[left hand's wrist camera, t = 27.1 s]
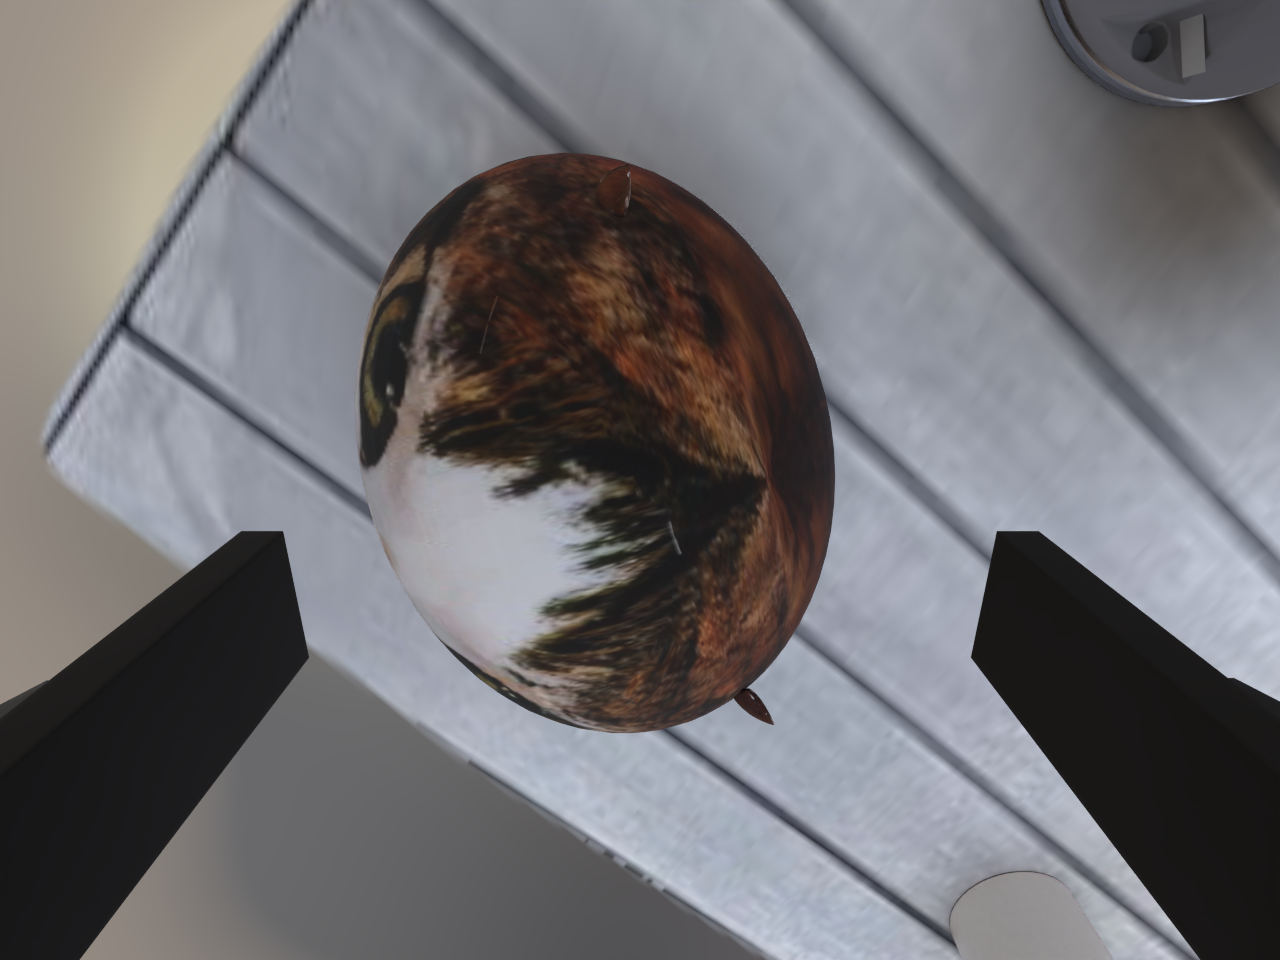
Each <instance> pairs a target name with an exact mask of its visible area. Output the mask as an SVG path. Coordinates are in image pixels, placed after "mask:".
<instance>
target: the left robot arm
mask: <svg viewBox="0 0 1280 960" xmlns="http://www.w3.org/2000/svg"><path fill="white" fill-rule="evenodd" d="M1042 1H1043V5H1044V8H1045V12H1046V14H1047V16H1048V19H1049V21H1050V24H1051V26H1052V29H1053V30H1054V32H1055V34H1056V36H1057V38H1058V40H1059V42H1060V43H1061V45H1062V46H1063V48H1064V49H1065V51H1066V52H1067V53H1068V55H1069V56H1070V58H1071V59H1072V60H1073V61H1074V62H1075V63H1076V64H1077V65H1078V67H1079V68H1080V69H1081V70H1082V71H1083V72H1085V73H1086V74H1087V75H1088V76H1089V77H1090V78H1091V79H1093V80H1094V81H1095V82H1097V83H1098V84H1100V85H1101V86H1103V87H1104V88H1106V89H1107V90H1109V91H1111V92H1113V93H1115V94H1117V95H1119V96H1121V97H1124V98H1127V99H1130V100H1133V101H1136V102H1140V103H1144V104H1149V105H1156V106H1166V107H1185V106H1194V105H1202V104H1207V103H1212V102H1217V101H1222V100H1226V99H1231V98H1235V97H1240V96H1244V95H1248V94H1251V93H1254V92H1257V91H1260V90H1263V89H1265V88H1268V87H1270V86H1272V85H1275V84H1277V83H1279V82H1280V0H1042ZM308 658H309V655H308V650H307V645H306V641H305V636H304V631H303V626H302V621H301V616H300V611H299V607H298V602H297V597H296V592H295V587H294V582H293V577H292V573H291V568H290V563H289V558H288V553H287V548H286V543H285V539H284V534H283V531H241V532H240V533H238V534H237V535H236V536H235V537H233V538H232V539H231V540H229V541H228V542H227V543H226V544H224V545H223V546H222V547H220V548H219V549H218V550H217V551H215V552H214V553H213V554H211V555H210V556H209V557H208V558H206V559H205V560H204V561H202V562H201V563H200V564H199V565H197V566H196V567H195V568H193V569H192V570H191V571H190V572H188V573H187V574H186V575H184V576H183V577H182V578H181V579H179V580H178V581H177V582H175V583H174V584H173V585H172V586H170V587H169V588H168V589H166V590H165V591H164V592H163V593H161V594H160V595H159V596H157V597H156V598H155V599H154V600H152V601H151V602H150V603H148V604H147V605H146V606H145V607H143V608H142V609H141V610H139V611H138V612H137V613H135V614H134V615H133V616H132V617H130V618H129V619H128V620H126V621H125V622H124V623H123V624H121V625H120V626H119V627H117V628H116V629H115V630H114V631H112V632H111V633H110V634H109V635H107V636H106V637H105V638H103V639H102V640H101V641H99V642H98V643H97V644H96V645H94V646H93V647H92V648H91V649H89V650H88V651H87V652H85V653H84V654H83V655H81V656H80V657H79V658H78V659H76V660H75V661H74V662H72V663H71V664H70V665H69V666H67V667H66V668H65V669H63V670H62V671H61V672H60V673H58V674H57V675H56V676H54V677H53V678H52V679H51V680H49V681H45V682H43V683H41V684H39V685H37V686H35V687H33V688H31V689H29V690H28V691H26V692H24V693H22V694H20V695H18V696H16V697H14V698H12V699H10V700H8V701H6V702H4V703H2V704H1V705H0V960H80V958H81V957H82V956H83V954H84V953H85V952H86V951H87V949H88V948H89V947H90V945H91V944H92V943H93V941H94V940H95V939H96V937H97V936H98V935H99V933H100V932H101V931H102V929H103V928H104V927H105V925H106V924H107V923H108V922H109V920H110V919H111V918H112V916H113V915H114V914H115V912H116V911H117V910H118V908H119V907H120V906H121V904H122V903H123V902H124V900H125V899H126V898H127V897H128V895H129V894H130V893H131V891H132V890H133V889H134V887H135V886H136V885H137V883H138V882H139V881H140V879H141V878H142V877H143V875H144V874H145V873H146V871H147V870H148V869H149V868H150V866H151V865H152V864H153V862H154V861H155V860H156V858H157V857H158V856H159V854H160V853H161V852H162V850H163V849H164V848H165V846H166V845H167V844H168V843H169V841H170V840H171V839H172V837H173V836H174V835H175V833H176V832H177V831H178V829H179V828H180V827H181V825H182V824H183V823H184V821H185V820H186V819H187V818H188V816H189V815H190V814H191V812H192V811H193V810H194V808H195V807H196V806H197V804H198V803H199V802H200V800H201V799H202V798H203V796H204V795H205V794H206V792H207V791H208V790H209V789H210V787H211V786H212V785H213V783H214V782H215V781H216V779H217V778H218V777H219V775H220V774H221V773H222V771H223V770H224V769H225V767H226V766H227V765H228V764H229V762H230V761H231V760H232V758H233V757H234V756H235V754H236V753H237V752H238V750H239V749H240V748H241V746H242V745H243V744H244V742H245V741H246V740H247V738H248V737H249V736H250V734H251V733H252V732H253V731H254V729H255V728H256V727H257V725H258V724H259V723H260V721H261V720H262V719H263V717H264V716H265V715H266V713H267V712H268V711H269V710H270V708H271V707H272V706H273V704H274V703H275V702H276V700H277V699H278V698H279V696H280V695H281V694H282V692H283V691H284V690H285V688H286V687H287V686H288V685H289V683H290V682H291V680H292V679H293V678H294V677H295V675H296V674H297V673H298V671H299V670H300V669H301V667H302V666H303V665H304V663H305V662H306V661H307V659H308ZM971 658H972V659H973V661H974V662H975V663H976V665H977V666H978V667H979V669H980V670H981V671H982V673H983V674H984V675H985V677H986V678H987V679H988V681H989V682H990V683H991V685H992V686H993V687H994V688H995V690H996V691H997V692H998V694H999V695H1000V696H1001V698H1002V699H1003V700H1004V702H1005V703H1006V704H1007V706H1008V707H1009V708H1010V710H1011V711H1012V712H1013V713H1014V715H1015V716H1016V717H1017V719H1018V720H1019V721H1020V723H1021V724H1022V725H1023V727H1024V728H1025V729H1026V731H1027V732H1028V733H1029V735H1030V736H1031V737H1032V739H1033V740H1034V741H1035V742H1036V744H1037V745H1038V746H1039V748H1040V749H1041V750H1042V752H1043V753H1044V754H1045V756H1046V757H1047V758H1048V760H1049V761H1050V762H1051V764H1052V765H1053V766H1054V767H1055V769H1056V770H1057V771H1058V773H1059V774H1060V775H1061V777H1062V778H1063V779H1064V781H1065V782H1066V783H1067V785H1068V786H1069V787H1070V789H1071V790H1072V791H1073V792H1074V794H1075V795H1076V796H1077V798H1078V799H1079V800H1080V802H1081V803H1082V804H1083V806H1084V807H1085V808H1086V810H1087V811H1088V812H1089V814H1090V815H1091V816H1092V818H1093V819H1094V820H1095V821H1096V823H1097V824H1098V825H1099V827H1100V828H1101V829H1102V831H1103V832H1104V833H1105V835H1106V836H1107V837H1108V839H1109V840H1110V841H1111V843H1112V844H1113V845H1114V846H1115V848H1116V849H1117V850H1118V852H1119V853H1120V854H1121V856H1122V857H1123V858H1124V860H1125V861H1126V862H1127V864H1128V865H1129V866H1130V868H1131V869H1132V870H1133V872H1134V873H1135V874H1136V875H1137V877H1138V878H1139V879H1140V881H1141V882H1142V883H1143V885H1144V886H1145V887H1146V889H1147V890H1148V891H1149V893H1150V894H1151V895H1152V897H1153V898H1154V899H1155V900H1156V902H1157V903H1158V904H1159V906H1160V907H1161V908H1162V910H1163V911H1164V912H1165V914H1166V915H1167V916H1168V918H1169V919H1170V920H1171V922H1172V923H1173V924H1174V925H1175V927H1176V928H1177V929H1178V931H1179V932H1180V933H1181V935H1182V936H1183V937H1184V939H1185V940H1186V941H1187V943H1188V944H1189V945H1190V947H1191V948H1192V949H1193V951H1194V952H1195V953H1196V954H1197V956H1198V957H1199V958H1200V960H1280V701H1278V700H1276V699H1274V698H1272V697H1270V696H1268V695H1266V694H1264V693H1262V692H1260V691H1258V690H1256V689H1254V688H1252V687H1250V686H1249V685H1247V684H1245V683H1243V682H1241V681H1239V680H1237V679H1235V678H1227V677H1226V676H1224V675H1223V674H1222V673H1220V672H1219V671H1218V670H1217V669H1215V668H1214V667H1213V666H1211V665H1210V664H1209V663H1208V662H1206V661H1205V660H1204V659H1202V658H1201V657H1200V656H1199V655H1197V654H1196V653H1195V652H1193V651H1192V650H1191V649H1190V648H1188V647H1187V646H1186V645H1184V644H1183V643H1182V642H1181V641H1179V640H1178V639H1177V638H1175V637H1174V636H1173V635H1172V634H1170V633H1169V632H1168V631H1166V630H1165V629H1164V628H1163V627H1161V626H1160V625H1159V624H1157V623H1156V622H1155V621H1154V620H1152V619H1151V618H1150V617H1148V616H1147V615H1146V614H1145V613H1143V612H1142V611H1141V610H1139V609H1138V608H1137V607H1136V606H1134V605H1133V604H1132V603H1130V602H1129V601H1128V600H1126V599H1125V598H1124V597H1123V596H1121V595H1120V594H1119V593H1117V592H1116V591H1115V590H1114V589H1112V588H1111V587H1110V586H1108V585H1107V584H1106V583H1105V582H1103V581H1102V580H1101V579H1099V578H1098V577H1097V576H1096V575H1094V574H1093V573H1092V572H1090V571H1089V570H1088V569H1087V568H1085V567H1084V566H1083V565H1081V564H1080V563H1079V562H1078V561H1076V560H1075V559H1074V558H1072V557H1071V556H1070V555H1069V554H1067V553H1066V552H1065V551H1063V550H1062V549H1061V548H1060V547H1058V546H1057V545H1056V544H1054V543H1053V542H1052V541H1051V540H1049V539H1048V538H1047V537H1045V536H1044V535H1043V534H1042V533H1040V532H1039V531H997V534H996V539H995V543H994V548H993V553H992V558H991V563H990V568H989V573H988V577H987V582H986V587H985V592H984V597H983V602H982V607H981V611H980V616H979V621H978V626H977V631H976V636H975V641H974V645H973V650H972V655H971Z"/></svg>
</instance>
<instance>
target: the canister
mask: <svg viewBox="0 0 1280 960" xmlns="http://www.w3.org/2000/svg"><path fill="white" fill-rule="evenodd" d="M950 931H951V934H952V936H953V939H954V941H955V943H956V946H957V948H958V950H959V953H960V955H961V957H962V959H963V960H1114V959H1113V957H1112V956H1111V954H1110V952H1109V951H1108V949H1107V948H1106V946H1105V945H1104V943H1103V941H1102V940H1101V938H1100V937H1099V935H1098V934H1097V932H1096V930H1095V929H1094V927H1093V926H1092V924H1091V923H1090V921H1089V920H1088V918H1087V916H1086V915H1085V913H1084V912H1083V910H1082V909H1081V907H1080V905H1079V904H1078V902H1077V901H1076V899H1075V898H1074V896H1073V894H1072V893H1071V891H1070V890H1069V889H1068V888H1067V887H1066V886H1065V885H1064V884H1063V883H1061V882H1060V881H1059V880H1057V879H1055V878H1053V877H1050V876H1048V875H1045V874H1040V873H1034V872H1013V873H1006V874H1002V875H998V876H995V877H992V878H989V879H987V880H985V881H983V882H981V883H979V884H977V885H975V886H974V887H972V888H971V889H970V890H968V891H967V892H966V893H965V894H964V895H963V896H962V897H961V898H960V899H959V900H958V902H957V903H956V905H955V906H954V908H953V910H952V913H951V916H950Z"/></svg>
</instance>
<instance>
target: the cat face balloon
mask: <svg viewBox="0 0 1280 960" xmlns="http://www.w3.org/2000/svg"><path fill="white" fill-rule="evenodd" d="M355 413H356V437H357V446H358V455H359V463H360V469H361V474H362V479H363V484H364V489H365V494H366V498H367V501H368V505H369V508H370V511H371V515H372V518H373V522H374V525H375V528H376V530H377V533H378V535H379V538H380V541H381V543H382V546H383V548H384V551H385V553H386V556H387V558H388V560H389V562H390V564H391V566H392V568H393V570H394V572H395V574H396V576H397V578H398V580H399V582H400V583H401V585H402V587H403V588H404V590H405V591H406V593H407V595H408V596H409V598H410V600H411V601H412V603H413V605H414V606H415V608H416V610H417V611H418V613H419V614H420V615H421V617H422V618H423V619H424V621H425V622H426V623H427V625H428V626H429V627H430V629H431V630H432V632H433V633H434V634H435V635H436V636H437V637H438V639H439V640H440V641H441V642H442V643H443V644H444V645H445V646H446V648H447V649H448V650H449V651H450V652H451V653H452V654H453V655H454V656H455V657H456V658H457V659H458V660H459V661H460V662H461V663H462V664H464V665H465V666H466V667H467V668H468V669H469V670H470V671H471V672H472V673H473V674H474V675H476V676H477V677H478V678H479V679H480V680H482V681H483V682H484V683H486V684H487V685H489V686H490V687H491V688H493V689H494V690H495V691H497V692H498V693H500V694H501V695H503V696H505V697H506V698H508V699H509V700H511V701H513V702H515V703H517V704H518V705H520V706H522V707H524V708H525V709H527V710H529V711H531V712H534V713H536V714H538V715H541V716H543V717H546V718H548V719H551V720H553V721H556V722H559V723H562V724H566V725H569V726H573V727H577V728H580V729H587V730H595V731H602V732H609V733H637V732H647V731H655V730H662V729H665V728H669V727H672V726H676V725H679V724H683V723H686V722H689V721H692V720H694V719H697V718H699V717H701V716H704V715H706V714H708V713H709V712H711V711H713V710H715V709H717V708H719V707H720V706H722V705H724V704H725V703H727V702H729V701H730V700H732V699H733V698H734V699H735V701H736V702H737V703H738V704H739V705H740V706H741V707H742V708H743V709H744V710H745V711H746V712H748V713H749V714H750V715H752V716H753V717H755V718H757V719H759V720H761V721H763V722H766V723H768V724H772V725H774V723H773V720H772V718H771V716H770V714H769V712H768V710H767V709H766V707H765V705H764V704H763V702H762V701H761V699H760V698H759V697H758V696H757V695H756V694H755V692H754V691H752V690H751V689H748V688H747V687H748V686H749V685H751V684H752V683H753V682H754V681H755V680H756V679H757V678H758V677H759V676H760V675H761V674H762V673H764V672H765V670H766V669H767V668H768V667H769V666H770V665H771V664H772V662H773V661H774V660H775V659H776V658H777V656H778V655H779V654H780V652H781V651H782V650H783V648H784V647H785V646H786V644H787V643H788V641H789V639H790V638H791V636H792V635H793V633H794V631H795V630H796V628H797V627H798V625H799V623H800V621H801V619H802V617H803V615H804V613H805V611H806V609H807V607H808V605H809V603H810V601H811V598H812V596H813V593H814V590H815V588H816V585H817V583H818V580H819V577H820V574H821V570H822V567H823V563H824V560H825V556H826V552H827V547H828V542H829V538H830V533H831V526H832V517H833V508H834V491H835V464H834V447H833V438H832V430H831V421H830V416H829V411H828V407H827V402H826V397H825V393H824V390H823V386H822V383H821V379H820V376H819V372H818V368H817V365H816V361H815V358H814V356H813V353H812V351H811V348H810V346H809V344H808V341H807V339H806V336H805V334H804V331H803V329H802V327H801V324H800V322H799V320H798V318H797V316H796V314H795V313H794V311H793V309H792V307H791V305H790V303H789V301H788V300H787V298H786V296H785V295H784V293H783V291H782V290H781V288H780V286H779V284H778V283H777V281H776V279H775V278H774V276H773V275H772V274H771V272H770V271H769V270H768V268H767V267H766V266H765V264H764V263H763V262H762V261H761V259H760V258H759V257H758V255H757V254H756V253H755V252H754V250H753V249H752V248H751V247H750V245H749V244H748V243H747V242H746V241H745V240H744V238H743V237H742V236H741V235H740V234H739V233H738V232H737V231H736V230H735V229H734V228H733V227H732V226H731V225H730V224H729V223H727V222H726V221H725V220H724V219H723V218H722V217H721V216H720V215H718V214H717V213H716V212H715V211H714V210H713V209H711V208H710V207H709V206H708V205H707V204H706V203H704V202H703V201H701V200H700V199H699V198H697V197H696V196H694V195H693V194H691V193H690V192H688V191H687V190H685V189H683V188H682V187H680V186H678V185H677V184H675V183H673V182H672V181H670V180H668V179H666V178H664V177H662V176H660V175H658V174H656V173H654V172H651V171H649V170H646V169H643V168H640V167H638V166H635V165H632V164H629V163H626V162H624V161H621V160H616V159H612V158H607V157H602V156H596V155H588V154H573V153H558V154H547V155H538V156H531V157H526V158H522V159H518V160H514V161H510V162H507V163H504V164H502V165H500V166H497V167H495V168H493V169H490V170H488V171H486V172H484V173H481V174H479V175H477V176H475V177H473V178H471V179H470V180H468V181H467V182H465V183H464V184H462V185H460V186H459V187H457V188H456V189H454V190H453V191H452V192H451V193H450V194H448V195H447V196H446V197H445V198H444V199H443V200H441V201H440V202H439V203H438V204H437V205H436V206H434V207H433V208H432V209H431V210H430V211H429V212H428V213H427V214H426V215H425V216H424V217H423V218H422V219H421V221H420V222H419V223H418V224H417V225H416V226H415V228H414V229H413V230H412V231H411V232H410V234H409V235H408V237H407V238H406V240H405V241H404V243H403V244H402V246H401V247H400V249H399V250H398V252H397V253H396V255H395V256H394V258H393V260H392V262H391V263H390V265H389V267H388V269H387V271H386V273H385V275H384V277H383V279H382V281H381V283H380V285H379V288H378V290H377V293H376V296H375V298H374V301H373V304H372V306H371V309H370V312H369V315H368V319H367V323H366V327H365V331H364V335H363V338H362V343H361V349H360V356H359V362H358V369H357V381H356V398H355ZM746 688H747V689H746Z"/></svg>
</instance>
